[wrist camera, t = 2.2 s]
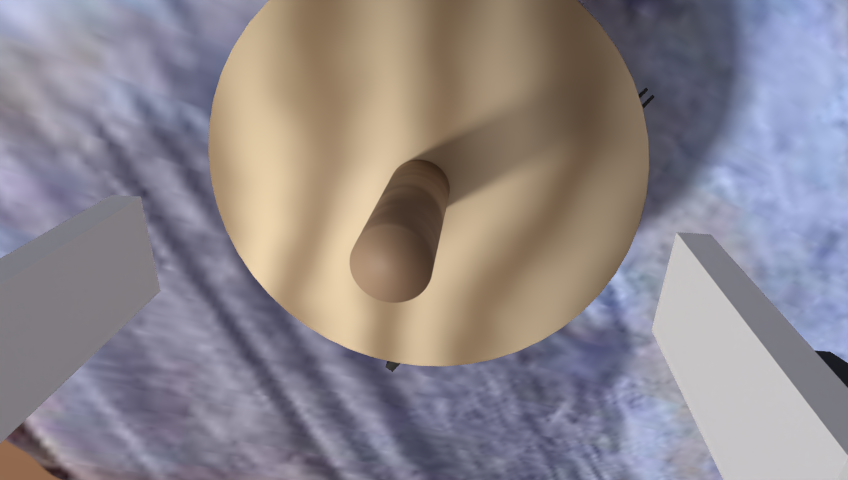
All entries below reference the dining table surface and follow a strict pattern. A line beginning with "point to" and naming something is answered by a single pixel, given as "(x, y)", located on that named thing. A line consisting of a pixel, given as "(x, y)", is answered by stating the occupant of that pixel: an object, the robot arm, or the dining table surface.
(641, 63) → the dining table surface
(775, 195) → the dining table surface
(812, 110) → the dining table surface
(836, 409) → the robot arm
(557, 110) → the lid
